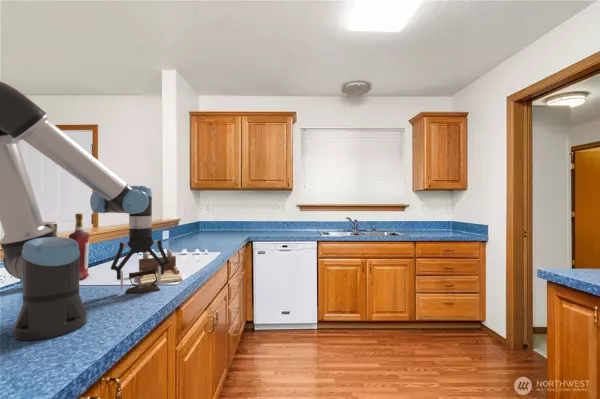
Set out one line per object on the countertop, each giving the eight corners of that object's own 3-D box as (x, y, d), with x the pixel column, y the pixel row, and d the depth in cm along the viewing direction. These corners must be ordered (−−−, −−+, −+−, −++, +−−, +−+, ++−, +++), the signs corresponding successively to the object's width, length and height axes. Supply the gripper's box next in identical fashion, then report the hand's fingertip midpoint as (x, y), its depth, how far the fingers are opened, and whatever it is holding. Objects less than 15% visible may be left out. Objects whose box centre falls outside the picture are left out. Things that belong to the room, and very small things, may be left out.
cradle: (182, 280, 128) (182, 256, 128) (141, 286, 120) (141, 260, 120) (175, 270, 145) (175, 249, 145) (139, 275, 138) (138, 252, 138)
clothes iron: (162, 291, 115) (156, 267, 113) (129, 304, 108) (121, 279, 106) (157, 285, 120) (151, 262, 118) (125, 297, 114) (118, 273, 111)
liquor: (67, 278, 132) (67, 213, 132) (88, 275, 137) (87, 213, 137) (69, 282, 126) (69, 214, 126) (91, 278, 131) (90, 213, 131)
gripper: (173, 225, 123) (174, 279, 123) (102, 228, 111) (103, 288, 111) (176, 226, 117) (177, 283, 117) (101, 230, 105) (102, 293, 105)
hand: (141, 285), depth 114 cm, fingers open, 12 cm apart
